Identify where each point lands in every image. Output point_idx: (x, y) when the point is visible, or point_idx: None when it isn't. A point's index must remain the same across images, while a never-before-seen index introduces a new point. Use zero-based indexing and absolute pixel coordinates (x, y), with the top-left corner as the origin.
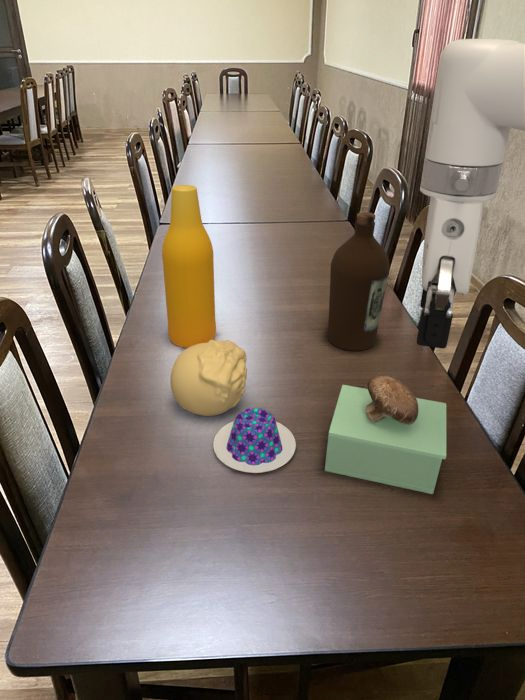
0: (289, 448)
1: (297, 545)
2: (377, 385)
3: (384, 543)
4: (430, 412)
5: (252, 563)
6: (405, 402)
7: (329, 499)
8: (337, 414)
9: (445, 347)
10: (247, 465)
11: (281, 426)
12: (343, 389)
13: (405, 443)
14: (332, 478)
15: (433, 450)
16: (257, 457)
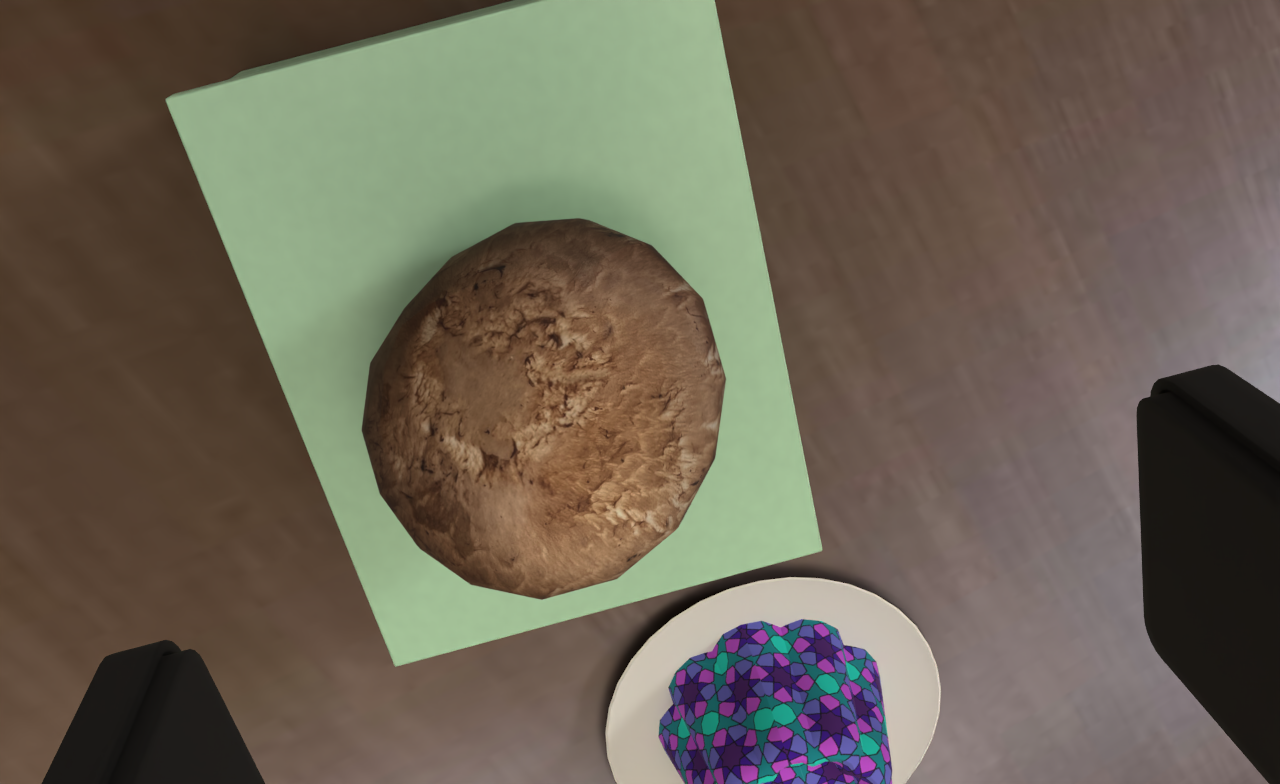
0: (727, 608)
1: (1161, 351)
2: (627, 544)
3: (1035, 71)
4: (340, 162)
5: None
6: (647, 335)
7: (905, 352)
8: (665, 577)
9: (1211, 367)
10: (888, 677)
11: (620, 698)
12: (437, 644)
13: (716, 201)
14: None
15: (694, 41)
16: (871, 676)
